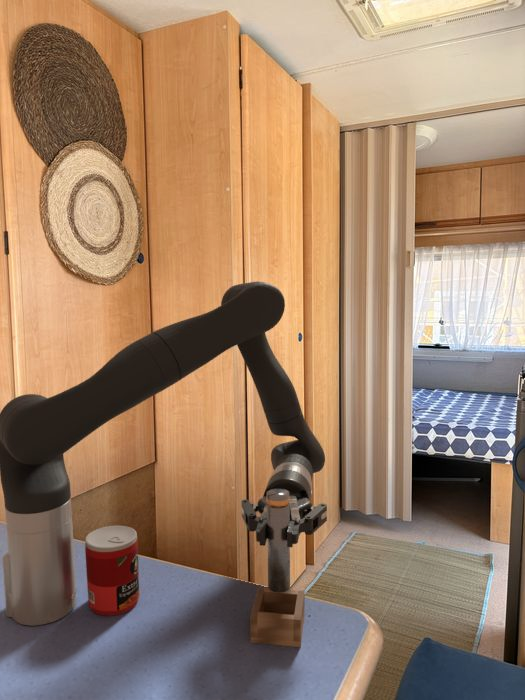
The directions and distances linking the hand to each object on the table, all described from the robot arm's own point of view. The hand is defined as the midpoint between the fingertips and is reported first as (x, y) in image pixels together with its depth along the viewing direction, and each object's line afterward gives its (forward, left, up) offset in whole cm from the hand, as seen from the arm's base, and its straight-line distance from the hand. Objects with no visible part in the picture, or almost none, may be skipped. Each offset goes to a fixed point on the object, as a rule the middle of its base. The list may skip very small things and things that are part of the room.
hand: (276, 539), depth 73 cm
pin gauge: (0, +3, -8) cm, 9 cm away
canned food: (-27, +6, -15) cm, 31 cm away
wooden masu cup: (0, +3, -15) cm, 15 cm away
